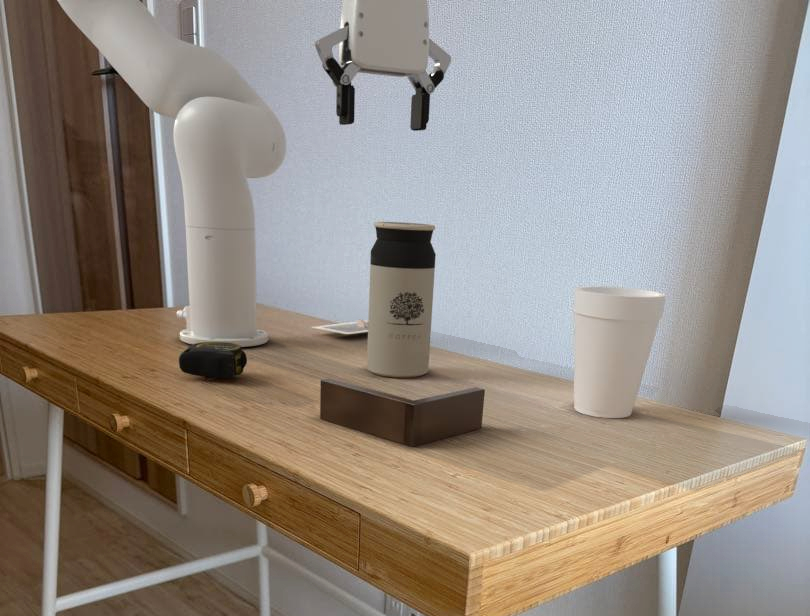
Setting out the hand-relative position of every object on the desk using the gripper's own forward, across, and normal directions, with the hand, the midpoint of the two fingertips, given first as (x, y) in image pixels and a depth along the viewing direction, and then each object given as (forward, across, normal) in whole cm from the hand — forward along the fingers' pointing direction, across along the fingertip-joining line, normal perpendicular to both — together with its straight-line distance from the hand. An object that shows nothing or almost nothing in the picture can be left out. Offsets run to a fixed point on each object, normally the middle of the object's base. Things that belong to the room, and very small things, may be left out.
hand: (383, 127), depth 102 cm
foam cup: (+29, -14, +31) cm, 45 cm away
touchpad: (+29, -7, -22) cm, 37 cm away
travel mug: (+29, 0, +7) cm, 30 cm away
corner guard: (+29, +10, +30) cm, 43 cm away
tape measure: (+29, +23, +6) cm, 37 cm away
